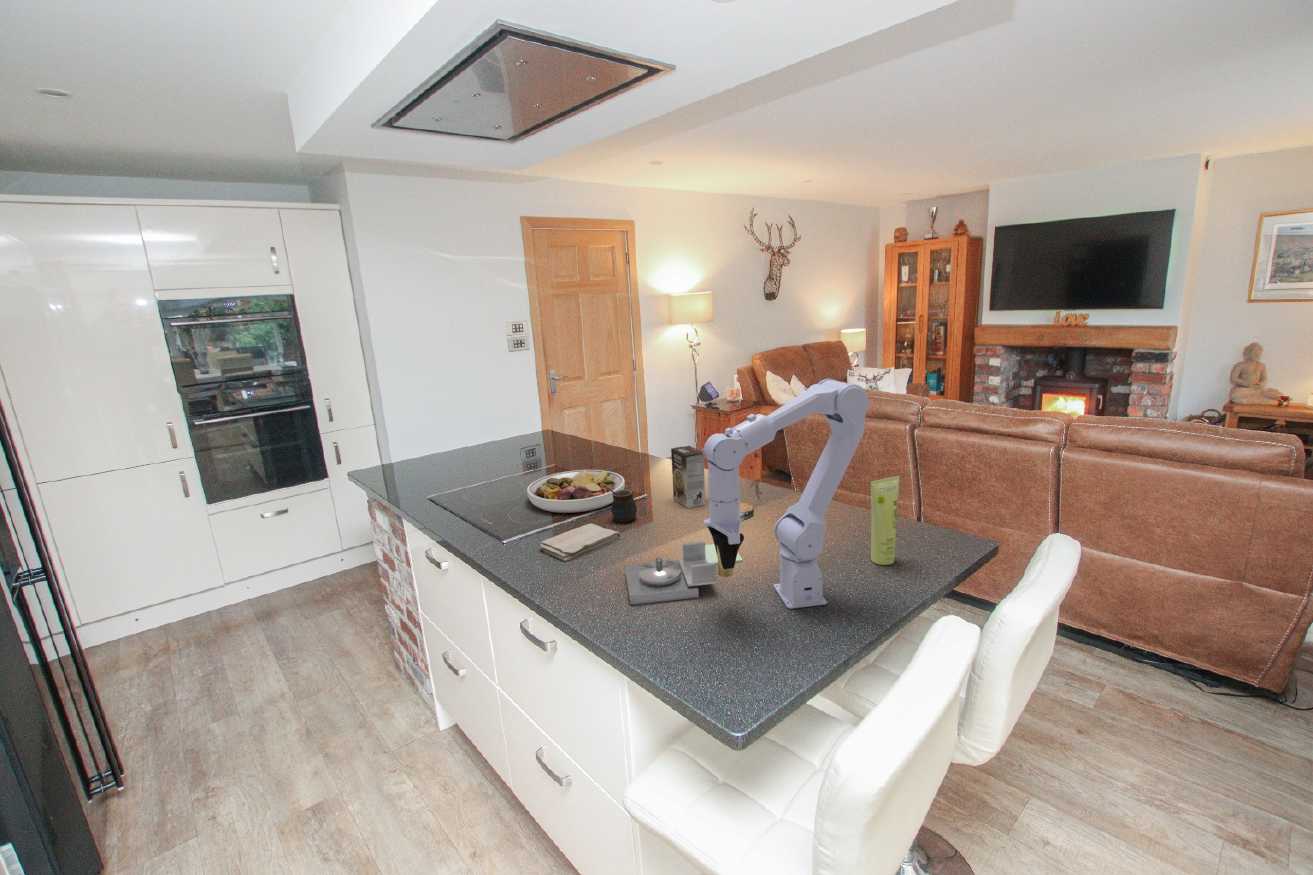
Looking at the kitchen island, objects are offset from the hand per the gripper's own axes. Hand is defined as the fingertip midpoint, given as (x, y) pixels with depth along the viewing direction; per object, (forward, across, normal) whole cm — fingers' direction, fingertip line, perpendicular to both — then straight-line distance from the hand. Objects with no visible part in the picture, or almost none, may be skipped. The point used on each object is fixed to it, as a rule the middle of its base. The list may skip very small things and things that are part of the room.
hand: (726, 563), depth 116 cm
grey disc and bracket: (+7, -12, -8) cm, 16 cm away
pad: (+9, -24, +4) cm, 26 cm away
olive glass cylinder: (+2, 0, 0) cm, 2 cm away
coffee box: (+10, -61, +4) cm, 62 cm away
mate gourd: (+10, -52, -16) cm, 56 cm away
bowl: (+10, -74, -29) cm, 81 cm away
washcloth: (+10, -38, -29) cm, 49 cm away
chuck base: (+9, -12, -12) cm, 19 cm away
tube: (+10, -12, +38) cm, 41 cm away
